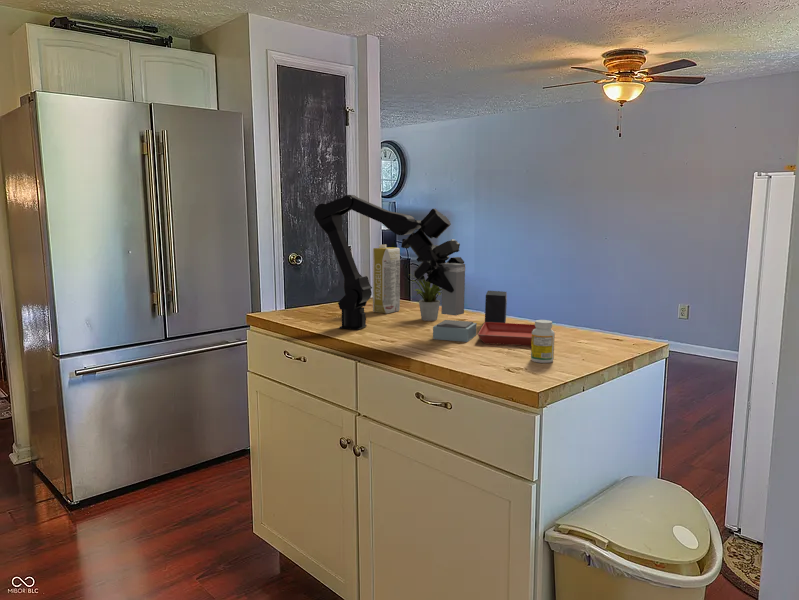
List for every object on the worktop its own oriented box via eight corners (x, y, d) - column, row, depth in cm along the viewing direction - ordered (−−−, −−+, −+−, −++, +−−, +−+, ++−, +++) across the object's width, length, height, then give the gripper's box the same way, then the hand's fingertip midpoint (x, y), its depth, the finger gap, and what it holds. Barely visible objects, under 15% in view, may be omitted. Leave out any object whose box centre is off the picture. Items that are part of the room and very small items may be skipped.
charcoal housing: (441, 313, 169) (442, 264, 167) (450, 311, 172) (451, 263, 171) (455, 315, 166) (456, 264, 164) (464, 313, 170) (465, 263, 168)
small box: (505, 329, 184) (506, 295, 182) (484, 328, 185) (484, 294, 183) (506, 323, 194) (507, 290, 192) (486, 322, 195) (486, 290, 194)
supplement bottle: (547, 364, 141) (548, 324, 139) (526, 360, 144) (527, 321, 143) (557, 360, 145) (559, 321, 143) (537, 356, 148) (538, 318, 147)
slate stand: (432, 339, 169) (433, 325, 168) (443, 332, 178) (443, 319, 177) (467, 341, 165) (467, 327, 165) (476, 335, 174) (476, 321, 174)
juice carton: (385, 308, 221) (385, 243, 218) (402, 311, 217) (403, 244, 213) (369, 312, 214) (369, 244, 210) (387, 314, 209) (387, 245, 206)
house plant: (397, 321, 196) (397, 271, 194) (412, 314, 209) (412, 267, 206) (438, 324, 191) (439, 273, 188) (452, 317, 203) (452, 269, 201)
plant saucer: (545, 349, 158) (546, 337, 157) (476, 345, 162) (477, 333, 162) (546, 336, 175) (546, 324, 175) (484, 332, 180) (484, 321, 179)
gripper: (423, 230, 161) (458, 274, 156) (459, 229, 176) (492, 269, 171) (399, 258, 167) (432, 301, 162) (436, 255, 181) (467, 294, 177)
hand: (457, 290), depth 168 cm, fingers closed on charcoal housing, 5 cm apart
